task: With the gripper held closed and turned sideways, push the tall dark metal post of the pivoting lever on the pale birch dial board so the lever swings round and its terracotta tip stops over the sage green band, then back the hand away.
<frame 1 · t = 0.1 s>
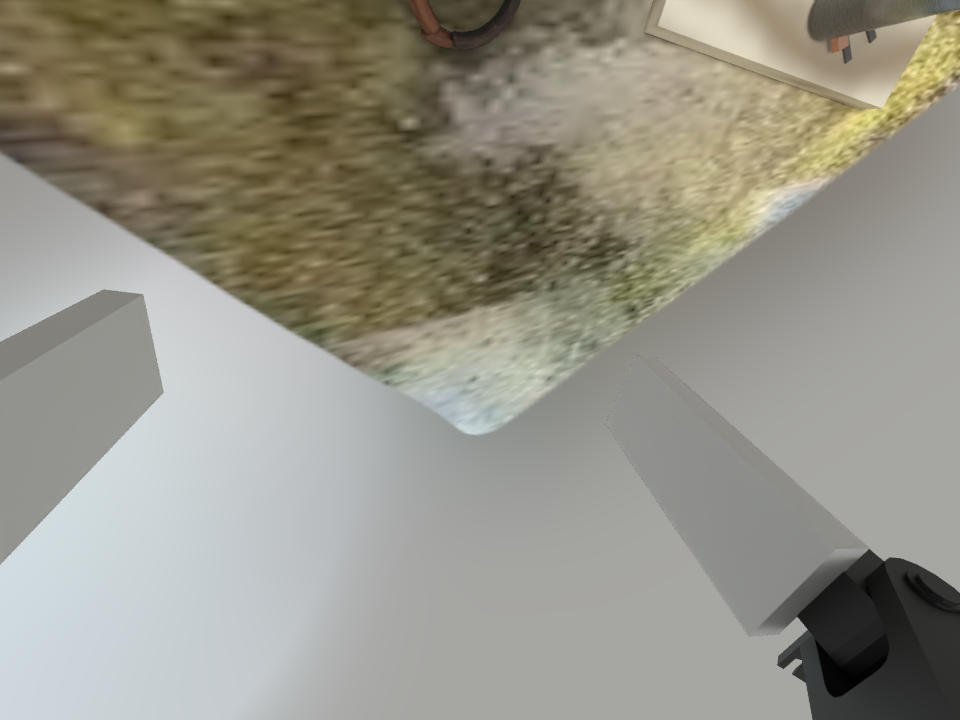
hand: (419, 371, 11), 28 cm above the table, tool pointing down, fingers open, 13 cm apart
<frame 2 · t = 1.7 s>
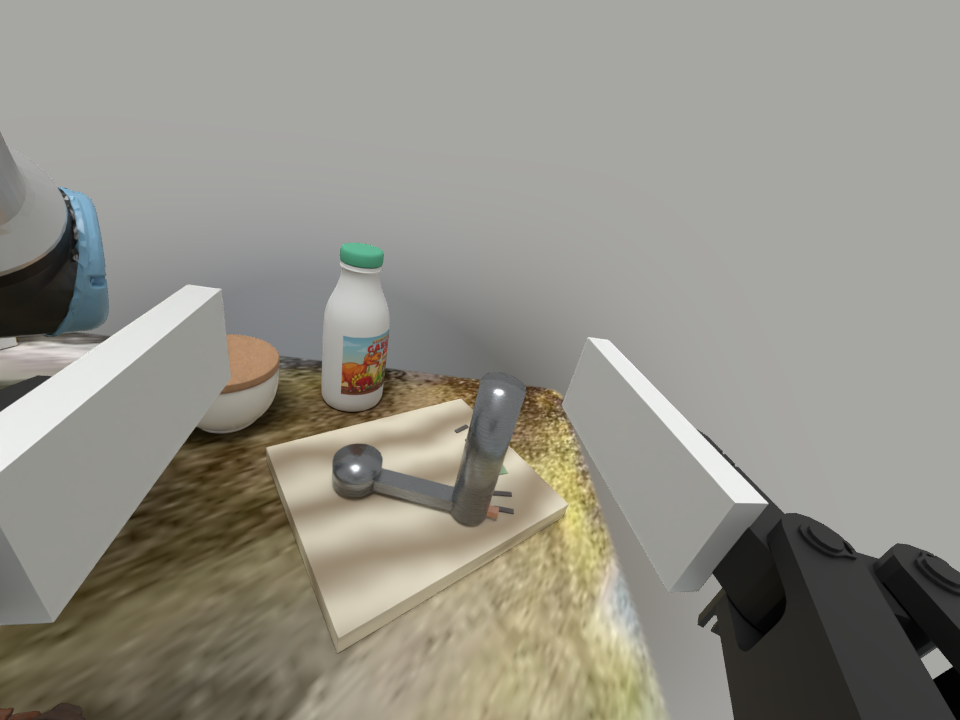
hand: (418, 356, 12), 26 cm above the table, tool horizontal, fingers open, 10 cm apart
milk bottle: (352, 397, 52), on the table
lidded jar: (228, 417, 44), on the table
dial board: (418, 490, 40), on the table
lever: (426, 437, 33), point 10 cm above the table, hinge at 0.0°
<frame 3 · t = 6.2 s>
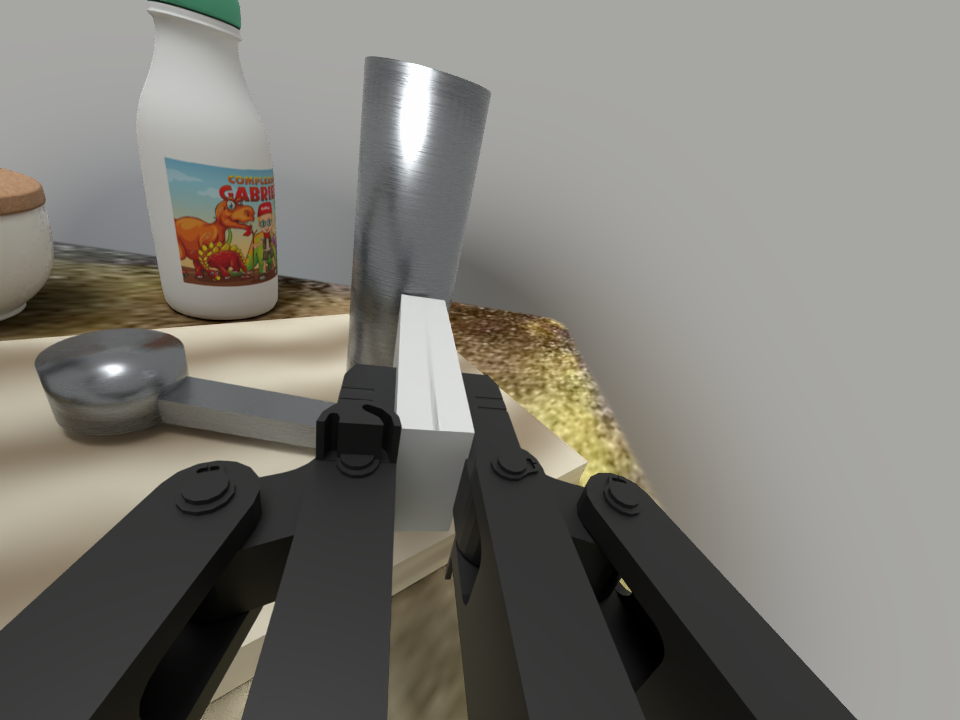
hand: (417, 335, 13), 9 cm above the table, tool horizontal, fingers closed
milk bottle: (225, 304, 32), on the table
dial board: (292, 437, 20), on the table
lever: (257, 273, 14), point 10 cm above the table, hinge at 5.9°, touching gripper
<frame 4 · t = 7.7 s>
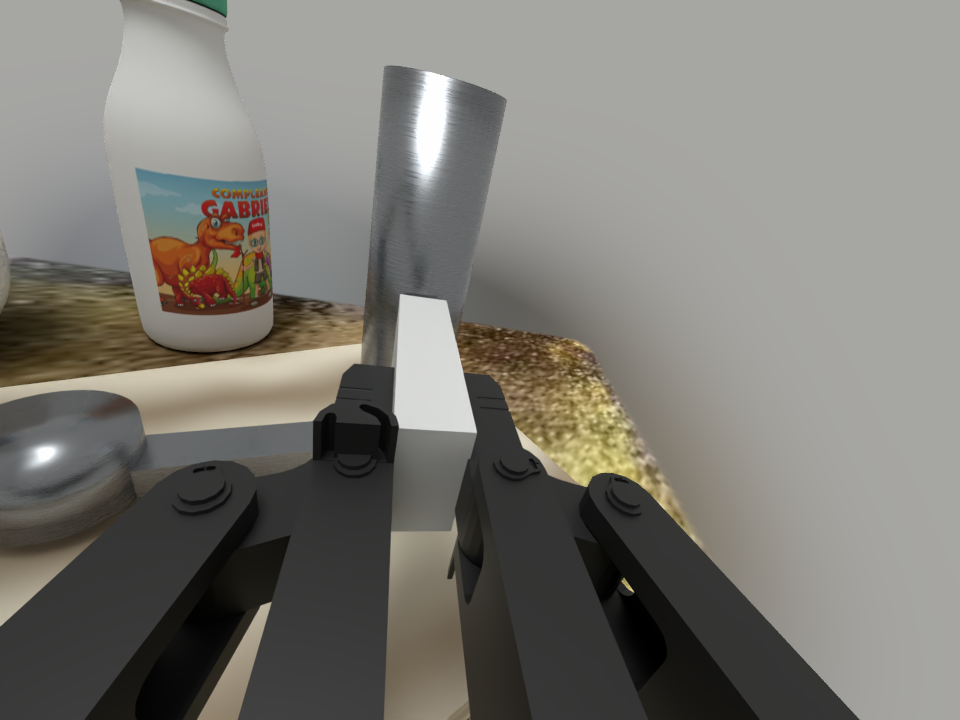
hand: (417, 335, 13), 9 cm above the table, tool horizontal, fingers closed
milk bottle: (213, 331, 28), on the table
dial board: (281, 513, 17), on the table
lever: (255, 300, 12), point 10 cm above the table, hinge at 30.8°, touching gripper
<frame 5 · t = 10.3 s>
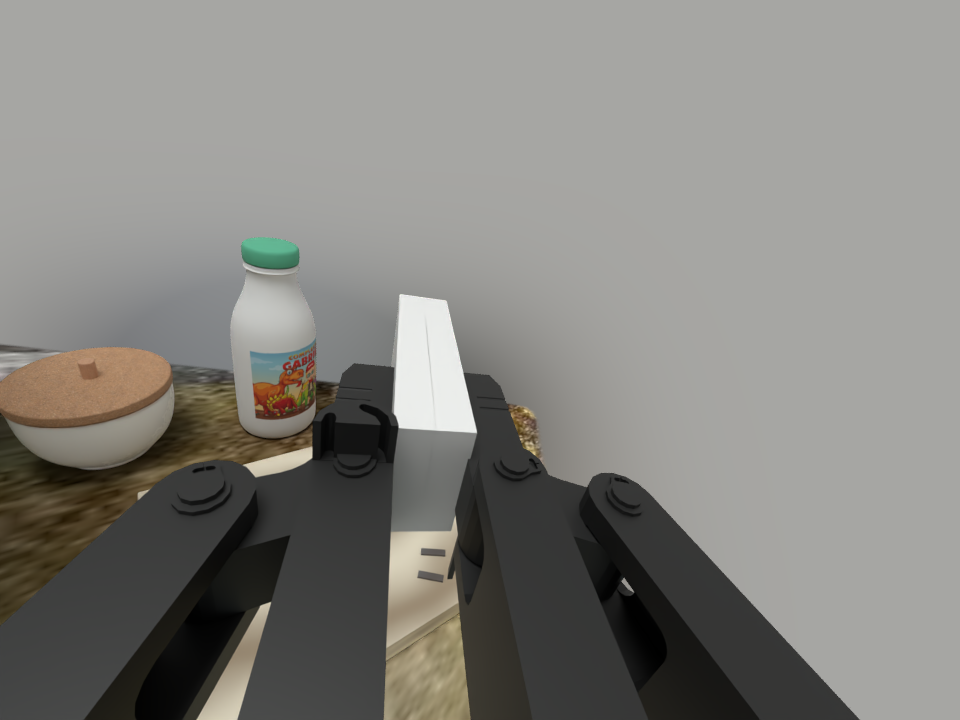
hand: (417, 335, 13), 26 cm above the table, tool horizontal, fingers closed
milk bottle: (279, 419, 44), on the table
lidded jar: (113, 447, 37), on the table
dial board: (331, 545, 33), on the table
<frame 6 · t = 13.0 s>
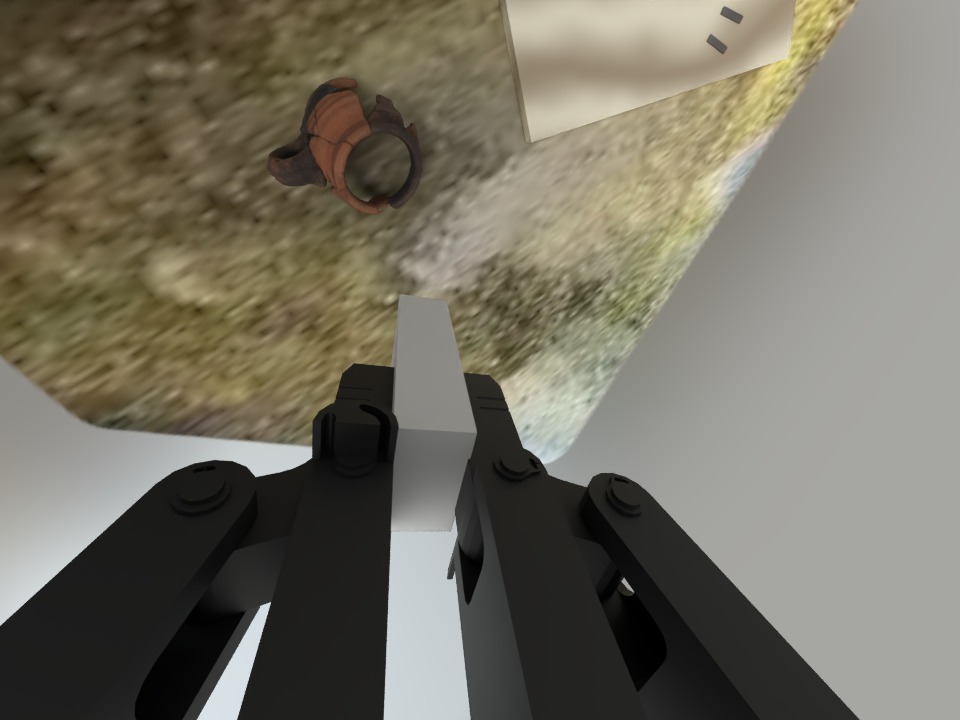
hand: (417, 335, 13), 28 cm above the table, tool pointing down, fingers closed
pottery mug: (350, 149, 34), on the table
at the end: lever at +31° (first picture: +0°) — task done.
